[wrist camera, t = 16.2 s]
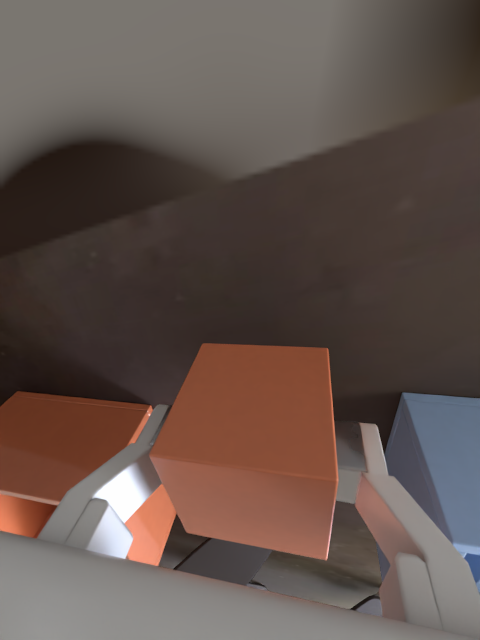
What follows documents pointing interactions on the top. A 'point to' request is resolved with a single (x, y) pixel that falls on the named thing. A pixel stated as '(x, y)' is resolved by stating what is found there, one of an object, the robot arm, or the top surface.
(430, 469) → the slate bin
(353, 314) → the top surface
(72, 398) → the terracotta bin
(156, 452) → the terracotta block
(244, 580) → the laptop stand
